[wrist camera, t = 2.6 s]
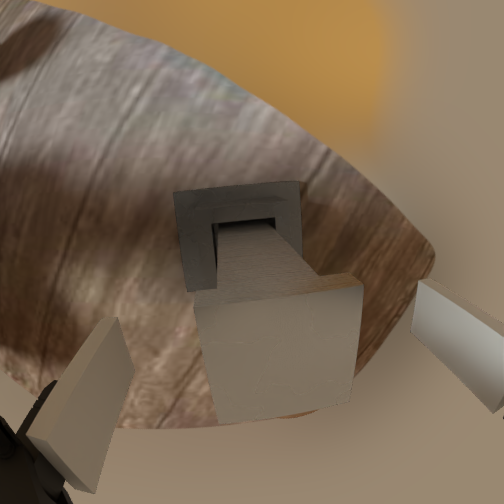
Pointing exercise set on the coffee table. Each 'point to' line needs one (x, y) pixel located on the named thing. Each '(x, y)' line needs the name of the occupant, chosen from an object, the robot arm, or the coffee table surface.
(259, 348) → the column
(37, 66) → the coffee table surface
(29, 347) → the coffee table surface
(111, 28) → the coffee table surface
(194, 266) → the stand base
